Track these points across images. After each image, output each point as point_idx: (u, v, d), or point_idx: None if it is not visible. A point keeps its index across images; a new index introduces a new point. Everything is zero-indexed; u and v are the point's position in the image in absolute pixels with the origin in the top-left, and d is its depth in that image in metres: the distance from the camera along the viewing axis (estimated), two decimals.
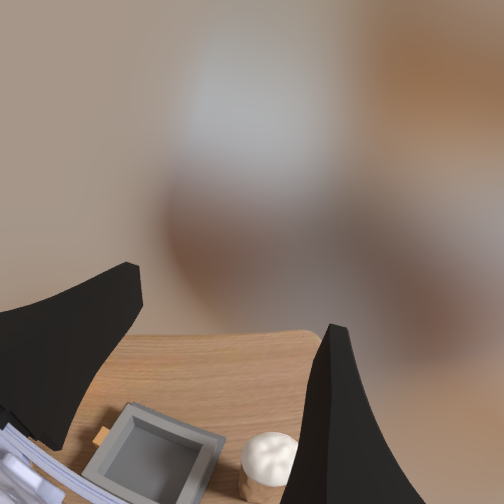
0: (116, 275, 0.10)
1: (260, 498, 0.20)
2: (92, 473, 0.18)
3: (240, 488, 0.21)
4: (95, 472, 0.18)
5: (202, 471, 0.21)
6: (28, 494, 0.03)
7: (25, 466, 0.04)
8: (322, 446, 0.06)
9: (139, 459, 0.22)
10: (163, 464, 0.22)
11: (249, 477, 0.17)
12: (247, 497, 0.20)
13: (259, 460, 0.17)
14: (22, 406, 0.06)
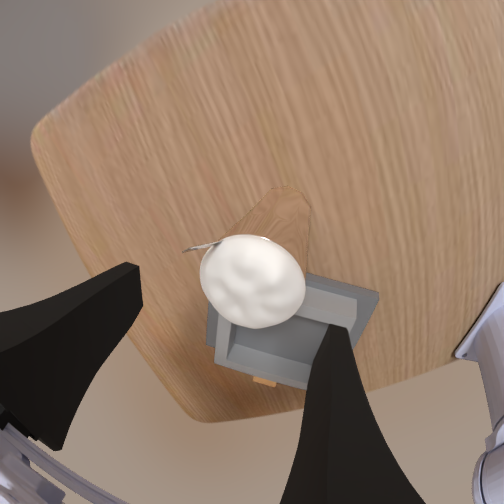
0: (116, 275, 0.10)
1: None
2: None
3: None
4: None
5: None
6: (28, 494, 0.03)
7: (25, 466, 0.04)
8: (322, 446, 0.06)
9: (275, 338, 0.25)
10: None
11: None
12: None
13: (261, 321, 0.13)
14: (22, 406, 0.06)
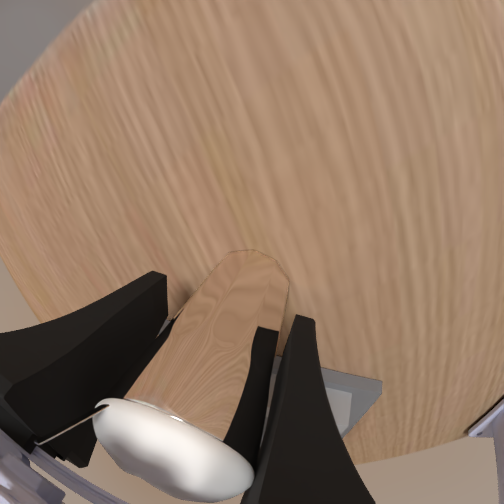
0: (144, 286, 0.10)
1: None
2: None
3: None
4: None
5: None
6: (28, 494, 0.03)
7: (25, 466, 0.04)
8: (272, 434, 0.06)
9: None
10: None
11: None
12: None
13: (189, 500, 0.06)
14: (51, 428, 0.06)
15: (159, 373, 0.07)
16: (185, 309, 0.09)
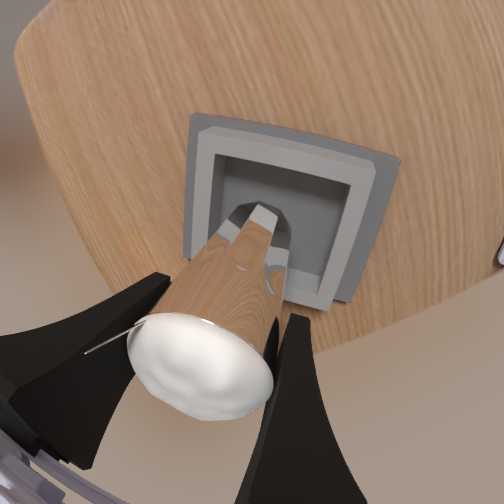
0: (148, 287, 0.10)
1: None
2: (321, 299, 0.18)
3: None
4: (318, 296, 0.18)
5: (266, 146, 0.15)
6: (28, 494, 0.03)
7: (25, 466, 0.04)
8: (265, 433, 0.06)
9: None
10: (266, 199, 0.18)
11: None
12: None
13: (214, 419, 0.08)
14: (55, 431, 0.06)
15: (189, 290, 0.09)
16: (205, 247, 0.11)
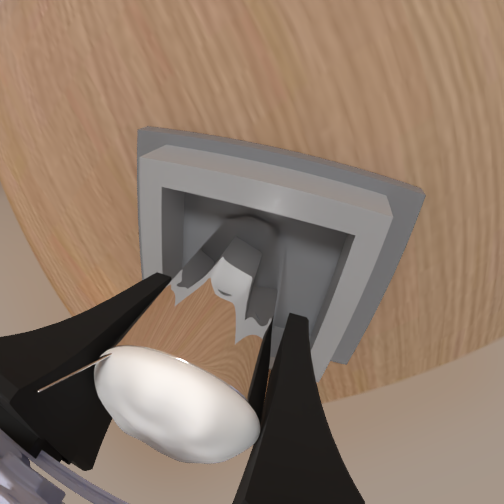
0: (150, 288, 0.10)
1: None
2: None
3: None
4: None
5: (231, 178, 0.10)
6: (28, 494, 0.03)
7: (25, 466, 0.04)
8: (262, 432, 0.06)
9: None
10: None
11: None
12: None
13: (193, 462, 0.07)
14: (57, 432, 0.06)
15: (162, 319, 0.07)
16: (186, 267, 0.10)
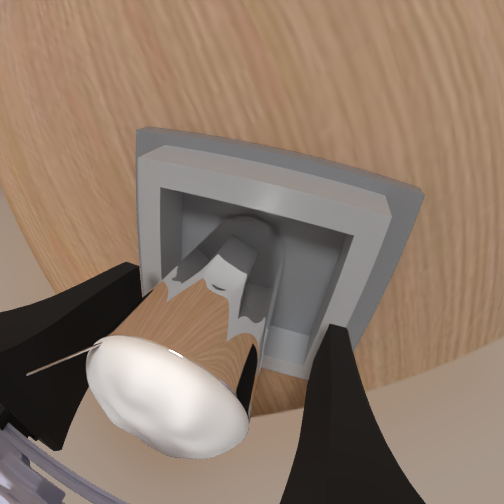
0: (116, 275, 0.10)
1: (275, 285, 0.11)
2: (308, 370, 0.14)
3: None
4: (304, 366, 0.14)
5: (229, 178, 0.10)
6: (28, 494, 0.03)
7: (25, 466, 0.04)
8: (322, 446, 0.06)
9: None
10: None
11: None
12: None
13: (181, 456, 0.07)
14: (22, 406, 0.06)
15: (153, 311, 0.07)
16: (182, 262, 0.10)
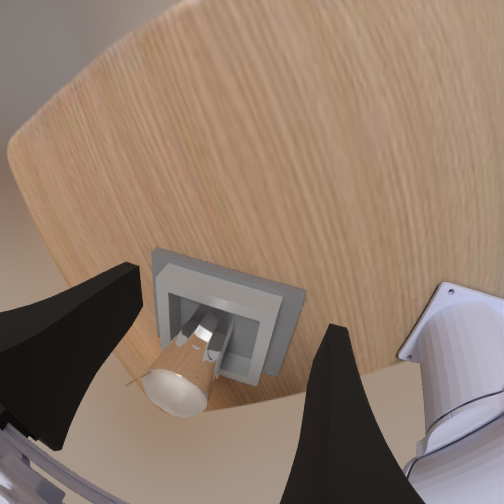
0: (116, 275, 0.10)
1: (225, 340, 0.23)
2: (250, 379, 0.25)
3: None
4: (247, 377, 0.25)
5: (201, 294, 0.22)
6: (28, 494, 0.03)
7: (25, 466, 0.04)
8: (322, 446, 0.06)
9: None
10: None
11: None
12: None
13: (181, 415, 0.18)
14: (22, 406, 0.06)
15: (170, 359, 0.19)
16: (180, 332, 0.21)
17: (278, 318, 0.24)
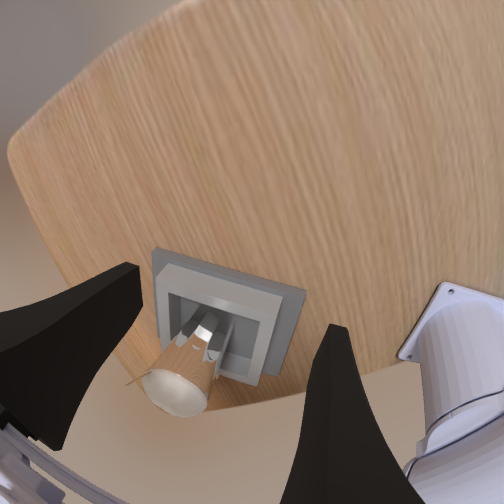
0: (116, 275, 0.10)
1: (225, 340, 0.23)
2: (250, 379, 0.25)
3: None
4: (247, 377, 0.25)
5: (201, 294, 0.22)
6: (28, 494, 0.03)
7: (25, 466, 0.04)
8: (322, 446, 0.06)
9: None
10: None
11: None
12: None
13: (181, 415, 0.18)
14: (22, 406, 0.06)
15: (170, 359, 0.19)
16: (180, 332, 0.21)
17: (278, 318, 0.24)
